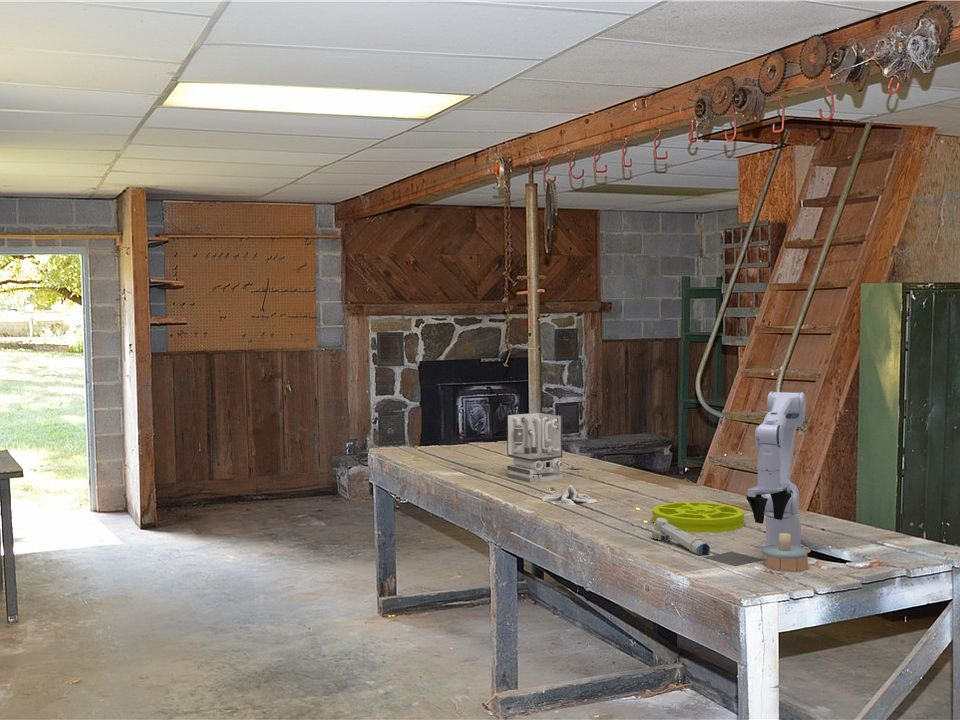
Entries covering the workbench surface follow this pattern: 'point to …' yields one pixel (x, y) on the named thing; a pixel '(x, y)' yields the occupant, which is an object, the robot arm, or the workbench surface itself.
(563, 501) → the cloth
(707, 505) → the pulley
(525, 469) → the electrical transformer
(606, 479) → the workbench surface
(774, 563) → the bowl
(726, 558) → the mat
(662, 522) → the grey flashlight
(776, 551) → the lid
